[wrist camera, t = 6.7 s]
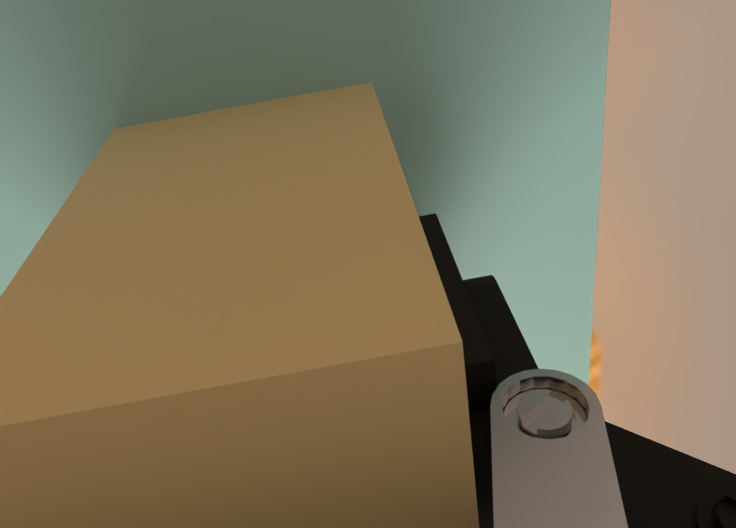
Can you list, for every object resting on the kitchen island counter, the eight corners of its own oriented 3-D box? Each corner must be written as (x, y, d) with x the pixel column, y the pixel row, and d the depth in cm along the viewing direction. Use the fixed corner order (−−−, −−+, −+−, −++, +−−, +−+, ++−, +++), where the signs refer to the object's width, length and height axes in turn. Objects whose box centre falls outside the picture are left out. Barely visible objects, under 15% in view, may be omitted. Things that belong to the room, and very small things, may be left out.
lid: (-199, -91, 10) (-1492, 30, 3) (576, -233, 10) (1312, -482, 3) (127, 485, 18) (14, 907, 11) (560, 406, 18) (741, 775, 11)
